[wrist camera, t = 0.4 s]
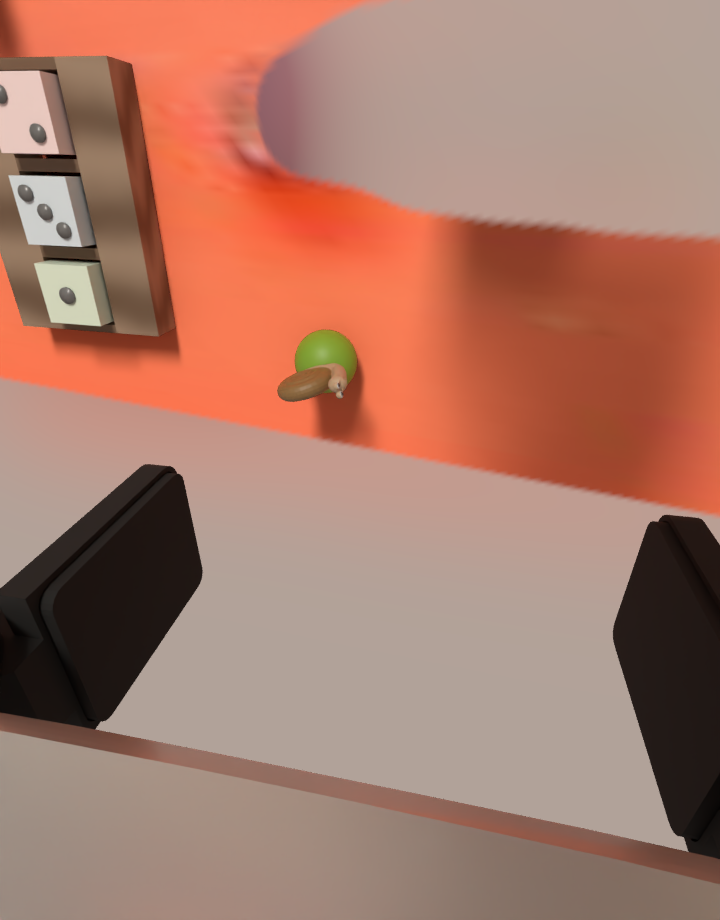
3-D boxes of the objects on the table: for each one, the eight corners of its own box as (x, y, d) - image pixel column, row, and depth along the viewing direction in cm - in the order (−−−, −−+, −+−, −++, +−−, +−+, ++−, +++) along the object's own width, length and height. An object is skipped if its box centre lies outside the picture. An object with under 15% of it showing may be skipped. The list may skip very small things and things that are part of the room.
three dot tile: (32, 175, 41) (6, 175, 39) (86, 176, 40) (62, 176, 38) (50, 240, 44) (26, 244, 41) (101, 243, 43) (80, 247, 41)
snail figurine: (380, 369, 46) (353, 425, 36) (317, 386, 48) (275, 443, 38) (361, 311, 44) (327, 354, 33) (296, 332, 46) (245, 377, 35)
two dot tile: (5, 77, 38) (-25, 70, 36) (63, 76, 37) (36, 70, 35) (26, 154, 40) (-1, 152, 38) (81, 155, 40) (57, 153, 37)
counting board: (-28, 66, 40) (-62, 58, 37) (131, 63, 38) (106, 55, 35) (46, 317, 50) (23, 325, 47) (175, 327, 48) (158, 336, 45)
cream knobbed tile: (54, 259, 44) (32, 263, 42) (105, 261, 44) (84, 266, 41) (70, 315, 47) (49, 322, 45) (118, 319, 46) (99, 326, 44)
